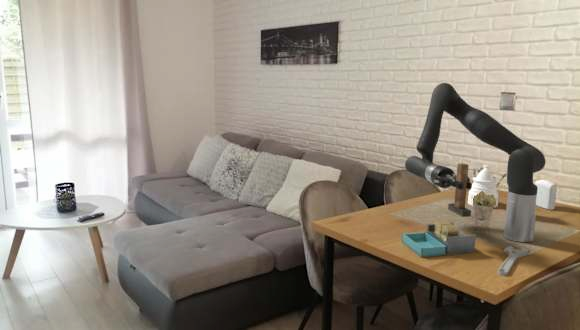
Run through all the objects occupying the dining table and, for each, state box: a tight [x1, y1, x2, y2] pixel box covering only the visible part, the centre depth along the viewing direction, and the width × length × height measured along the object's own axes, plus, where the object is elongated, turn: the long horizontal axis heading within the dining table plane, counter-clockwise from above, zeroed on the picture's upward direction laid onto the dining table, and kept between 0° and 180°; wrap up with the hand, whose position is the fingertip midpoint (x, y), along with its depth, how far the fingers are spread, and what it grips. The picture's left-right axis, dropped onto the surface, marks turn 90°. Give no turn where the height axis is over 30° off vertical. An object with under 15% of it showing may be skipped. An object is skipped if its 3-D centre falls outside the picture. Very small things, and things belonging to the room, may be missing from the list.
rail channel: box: [425, 222, 476, 256], centre depth 153 cm, size 10×14×6 cm
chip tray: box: [401, 231, 447, 258], centre depth 152 cm, size 9×14×3 cm, turn 12°
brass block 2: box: [441, 224, 460, 239], centre depth 150 cm, size 4×4×4 cm
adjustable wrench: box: [497, 245, 529, 277], centre depth 142 cm, size 25×6×2 cm, turn 138°
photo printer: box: [534, 179, 558, 211], centre depth 201 cm, size 10×4×12 cm, turn 13°
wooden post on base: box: [447, 163, 472, 218], centre depth 151 cm, size 3×9×17 cm, turn 12°
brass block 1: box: [434, 219, 452, 236], centre depth 155 cm, size 4×4×4 cm
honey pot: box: [467, 164, 499, 208], centre depth 205 cm, size 13×13×18 cm
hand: (466, 186), depth 148 cm, fingers closed on wooden post on base, 2 cm apart
